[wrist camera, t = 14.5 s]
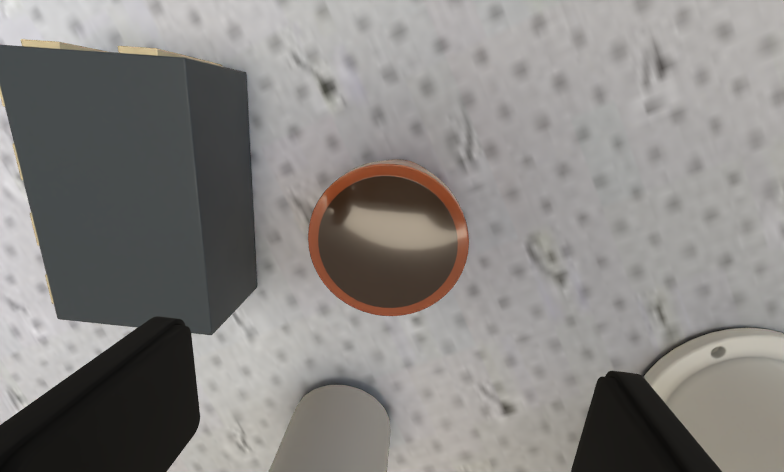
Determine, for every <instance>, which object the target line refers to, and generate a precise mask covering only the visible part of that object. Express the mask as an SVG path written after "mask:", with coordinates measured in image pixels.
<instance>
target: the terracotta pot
mask: <svg viewBox="0 0 784 472" xmlns="http://www.w3.org/2000/svg"><path fill="white" fill-rule="evenodd" d="M308 243H309V251H310V256H311V259H312V262H313V265H314V267H315V269H316V271H317V273H318V275H319V277H320V278H321V280H322V281H323V283H324V284H325V285H326V286H327V288H328V289H329V290H330V291H331V292H332V293H333V294H334V295H336V296H337V297H338V298H339V299H341V300H342V301H343V302H345V303H346V304H348V305H350V306H352V307H354V308H356V309H358V310H361V311H363V312H367V313H371V314H375V315H382V316H399V315H406V314H411V313H414V312H417V311H421V310H423V309H425V308H427V307H429V306H431V305H433V304H434V303H436V302H437V301H439V300H440V299H441V298H442V297H444V296H445V295H446V294H447V293H448V292H449V291H450V290H451V289H452V288H453V286H454V285H455V283H456V282H457V281H458V279H459V277H460V275H461V273H462V271H463V269H464V266H465V263H466V260H467V255H468V248H469V236H468V228H467V224H466V220H465V217H464V215H463V212H462V210H461V207H460V205H459V203H458V201H457V199H456V198H455V196H454V195H453V193H452V192H451V191H450V189H449V188H448V187H447V186H446V185H445V184H444V183H443V182H442V181H441V180H440V179H439V178H437V177H436V176H435V175H433V174H432V173H430V172H429V171H428V170H426V169H425V168H424V167H422V166H420V165H418V164H416V163H414V162H411V161H407V160H401V159H392V160H386V161H377V162H371V163H367V164H364V165H361V166H359V167H356V168H354V169H352V170H350V171H349V172H347V173H345V174H344V175H343V176H341V177H340V178H339V179H338V180H336V181H335V182H334V183H332V184H331V186H330V187H329V188H328V189H327V190H326V191H325V192H324V193H323V195H322V196H321V197H320V199H319V200H318V202H317V204H316V206H315V208H314V211H313V213H312V216H311V219H310V224H309V232H308Z"/></svg>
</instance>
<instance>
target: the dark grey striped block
mask: <svg viewBox="0 0 784 472" xmlns="http://www.w3.org/2000/svg"><path fill="white" fill-rule="evenodd" d="M21 43H22V46H10V45H0V96H1V100H2V104H3V106H4V107H5V108H6V112H7V116H8V120H9V124H10V128H11V132H12V136H13V140H14V143H13V148H14V152H15V156H16V160H17V164H18V168H19V172H20V176H21V180H23V181H24V185H25V189H26V193H27V197H28V201H29V205H30V209H31V213H30V217H31V221H32V225H33V229H34V233H35V237H36V241H37V245H39V246H40V249H41V253H42V257H43V262H44V266H45V270H46V275H45V277H46V281H47V285H48V289H49V293H50V297H51V301H52V304H54V306H55V310H56V314H57V318H58V319H62V320H72V321H82V322H91V323H101V324H110V325H120V326H129V327H140V326H141V325H142V324H144V323H145V322H147V321H148V320H149V319H151V318H153V317H156V316H160V317H169V318H177V319H181V320H183V321H184V323H185V326H187V327H189V328H190V331H191V333H196V334H205V335H212V334H213V333H214V332H215V331H216V330H217V329H218V328H219V327H220V326H221V325H222V324H223V323H224V322H225V321H226V320H227V319H228V318H229V316H230V315H231V314H232V313H233V312H234V311H235V310H236V309H237V308H238V307H239V306H240V305H241V304H242V303H243V302H244V301H245V300H246V299H247V297H248V296H249V295H250V294H251V293H252V292H253V291H254V290H255V289H256V288H257V279H256V259H255V239H254V219H253V200H252V180H251V160H250V141H249V121H248V101H247V81H246V73H245V72H242V71H238V70H234V69H230V68H226V67H222V65H221V64H217V63H213V62H209V61H205V60H201V59H197V58H193V57H189V56H185V55H181V54H177V53H173V52H169V51H165V50H161V49H157V48H143V47H128V46H118V51H119V53H112V52H107V51H102V50H97V49H92V48H87V47H82V46H77V45H72V44H67V43H62V42H54V41H39V40H25V39H21Z"/></svg>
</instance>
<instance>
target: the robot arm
mask: <svg viewBox="0 0 784 472" xmlns="http://www.w3.org/2000/svg"><path fill="white" fill-rule="evenodd" d="M199 422H200V412H199V402H198V393H197V384H196V375H195V365H194V356H193V347H192V337H191V331H190V328H189V327H187V326H185V323H184V321H183V320H181V319H177V318H169V317H160V316H156V317H153V318H151V319H149V320H148V321H147V322H145V323H144V324H142V325H141V326H140V327H138V328H137V329H135V330H134V331H132V332H131V333H130V334H128V335H127V336H125V337H124V338H123V339H121V340H120V341H118V342H117V343H116V344H114V345H113V346H111V347H110V348H108V349H107V350H106V351H104V352H103V353H101V354H100V355H99V356H97V357H96V358H94V359H93V360H92V361H90V362H89V363H87V364H86V365H84V366H83V367H82V368H80V369H79V370H77V371H76V372H75V373H73V374H72V375H70V376H69V377H68V378H66V379H65V380H63V381H62V382H60V383H59V384H58V385H56V386H55V387H53V388H52V389H51V390H49V391H48V392H46V393H45V394H44V395H42V396H41V397H39V398H38V399H37V400H35V401H34V402H32V403H31V404H29V405H28V406H27V407H25V408H24V409H22V410H21V411H20V412H18V413H17V414H15V415H14V416H13V417H11V418H10V419H8V420H7V421H5V422H4V423H3V424H1V425H0V472H166V471H167V470H168V469H169V467H170V466H171V465H172V463H173V462H174V461H175V459H176V458H177V457H178V455H179V454H180V453H181V451H182V450H183V449H184V447H185V446H186V445H187V443H188V442H189V441H190V439H191V438H192V437H193V435H194V434H195V432H196V430H197V428H198V425H199ZM571 472H784V334H783V333H780V332H776V331H773V330H769V329H758V328H737V329H727V330H722V331H718V332H713V333H709V334H706V335H703V336H700V337H698V338H695V339H692V340H690V341H688V342H686V343H684V344H682V345H680V346H679V347H677V348H675V349H673V350H672V351H670V352H669V353H668V354H666V355H665V356H664V357H662V358H661V359H660V360H658V362H657V363H656V364H655V365H654V366H653V367H652V368H651V369H650V370H649V371H648V372H647V373H646V374H645V376H644V377H642V376H641V375H639V374H634V373H625V372H617V371H609V372H608V373H607V374H606V376H605V377H600V378H599V379H598V381H597V383H596V387H595V390H594V394H593V397H592V401H591V404H590V407H589V411H588V414H587V418H586V421H585V425H584V428H583V432H582V435H581V438H580V442H579V445H578V449H577V452H576V456H575V459H574V463H573V466H572V470H571Z"/></svg>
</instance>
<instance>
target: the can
mask: <svg viewBox="0 0 784 472" xmlns="http://www.w3.org/2000/svg"><path fill="white" fill-rule="evenodd" d="M389 442H390V419H389V417H388V415H387V413H386V411H385V409H384V407H383V406H382V405H381V404H380V403H379V402H378V401H377V400H376V399H375V398H374V397H373V396H371V395H370V394H368V393H366V392H364V391H363V390H361V389H358V388H354V387H351V386H347V385H327V386H324V387H320V388H316V389H314V390H313V391H311V392H309V393H308V394H306V395H305V396H304V397H303V398H302V399H301V401H300V402H299V404H298V405H297V406H296V409H295V411H294V413H293V416H292V418H291V420H290V423H289V425H288V427H287V430H286V432H285V435H284V437H283V439H282V442H281V444H280V446H279V449H278V451H277V453H276V456H275V458H274V461H273V463H272V465H271V468H270V470H269V472H387V464H388V453H389Z"/></svg>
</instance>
